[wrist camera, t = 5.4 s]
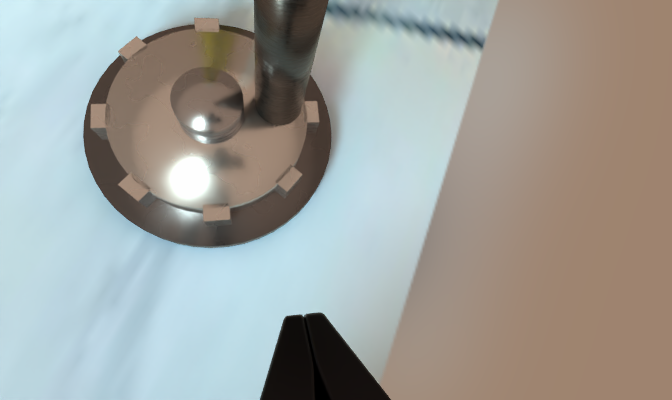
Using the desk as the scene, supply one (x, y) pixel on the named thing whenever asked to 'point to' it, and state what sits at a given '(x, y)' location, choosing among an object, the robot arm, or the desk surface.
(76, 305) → the desk surface
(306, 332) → the robot arm
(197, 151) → the sprocket
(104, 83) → the base plate
